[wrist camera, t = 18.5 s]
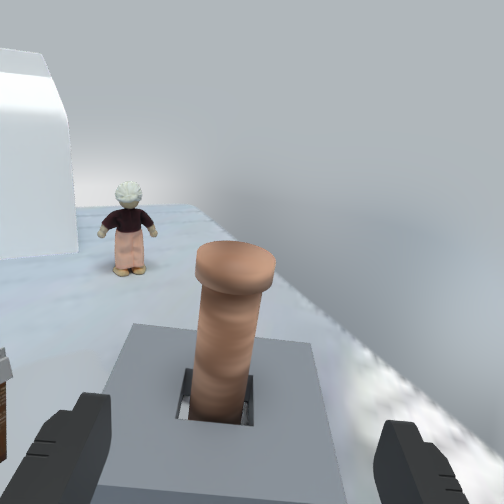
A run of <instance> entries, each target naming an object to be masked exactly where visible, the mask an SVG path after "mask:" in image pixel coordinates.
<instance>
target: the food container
mask: <svg viewBox="0 0 504 504" xmlns="http://www.w3.org/2000/svg"><path fill="white" fill-rule="evenodd" d="M12 377H13V375H12V370H11V366H10V362H9V358H8V357H6V354H5V347H3V348H1V349H0V463H1V462H2V461H4V460H5V459H6V458H7V450H6V381H7V380H9V379H10V378H12Z"/></svg>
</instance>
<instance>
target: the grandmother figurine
mask: <svg viewBox="0 0 504 504" xmlns="http://www.w3.org/2000/svg"><path fill="white" fill-rule="evenodd" d="M115 196H116V199H117V200H118V201H119V203H120V205H121V206H122V207H124V208H125V209H121V210H116V211H113V212H111V213H110V214H109V215H108V216H107V217H106V218H105V219H104V220H103V221H102V225H101V227H100V231H98V233H97V235H98V237H100V238H104V237H105V236H106V233H107V232H108V230H109V229H112V228H115V227H117V229H116V233H115V267H114V268H113V272H114V273H116V274H117V275H118V276H128V275H129V271H128V268H131V269H132V271H133V273H134V274H144V273H145V270H146V267H145V265H144V246H143V234H142V230H141V224H143V225H144V226H145V227H146V228H147V229H148V231H149V232H150V235H151V237H156V236H157V234H158V233H157V231H156V230H155V226H154V222H153V221H152V220H151V218H150V217H149V216H148V214H147V213H146V212H145V211H143V210H141V209H135V207H136V206H137V205H138V203H139V201H140V200H141V197H142V192H141V189H140V186H139V185H138V184H137V183H136V182H131V181H126V182H124V183H122V184H120V186H118V188H117V190H116V193H115Z"/></svg>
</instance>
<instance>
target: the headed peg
mask: <svg viewBox="0 0 504 504" xmlns="http://www.w3.org/2000/svg"><path fill="white" fill-rule="evenodd" d="M275 264H276V260H275V258H274V256H273V255H272V254H271V253H270V252H268V251H267V250H265V249H263V248H261V247H258V246H256V245H252V244H249V243H244V242H238V241H214V242H210V243H206V244H204V245H202V246H201V247H199V249H198V250H197V257H196V268H195V276H196V278H197V280H198V281H199V282H200V283H201V284H202V292H201V301H200V311H199V320H198V330H197V339H196V349H195V358H194V368H193V377H192V387H191V396H190V406H189V415H188V420H193V421H203V422H213V423H223V424H233V425H240V423H241V417H242V411H243V405H244V399H245V393H246V387H247V380H248V374H249V368H250V362H251V356H252V350H253V344H254V338H255V332H256V326H257V320H258V314H259V308H260V302H261V296H262V292H264V291H266V290H267V289H269V288H270V287H271V285H272V281H273V275H274V270H275Z"/></svg>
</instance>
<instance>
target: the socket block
mask: <svg viewBox="0 0 504 504" xmlns="http://www.w3.org/2000/svg"><path fill="white" fill-rule="evenodd" d="M196 339H197V331H196V330H187V329H179V328H170V327H161V326H152V325H143V324H134V323H133V326H132V328H131V330H130V332H129V334H128V337H127V339H126V341H125V343H124V346H123V348H122V350H121V352H120V354H119V357H118V359H117V361H116V363H115V365H114V368H113V370H112V372H111V374H110V377H109V379H108V381H107V383H106V385H105V388H104V390H103V392H102V394H109V395H110V397H111V421H112V438H111V445H110V450H109V454H108V457H107V460H106V463H105V465H104V468H103V471H102V473H101V476H100V479H99V481H98V484H97V487H96V489H95V492H94V495H93V497H92V500H91V503H90V504H347V501H346V497H345V492H344V488H343V484H342V479H341V475H340V470H339V466H338V462H337V457H336V453H335V449H334V444H333V440H332V435H331V431H330V427H329V422H328V418H327V414H326V409H325V405H324V401H323V396H322V392H321V387H320V383H319V379H318V374H317V370H316V366H315V361H314V357H313V352H312V348H311V344H310V343H303V342H294V341H285V340H276V339H267V338H259V337H255V338H254V344H253V350H252V356H251V362H250V368H249V374H248V380H247V387H246V393H245V399H244V401H248V402H249V426H243V425H233V424H223V423H213V422H203V421H193V420H183V419H178V416H179V411H180V406H181V402H182V397H183V395H189V396H191V387H192V377H193V368H194V358H195V349H196Z"/></svg>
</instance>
